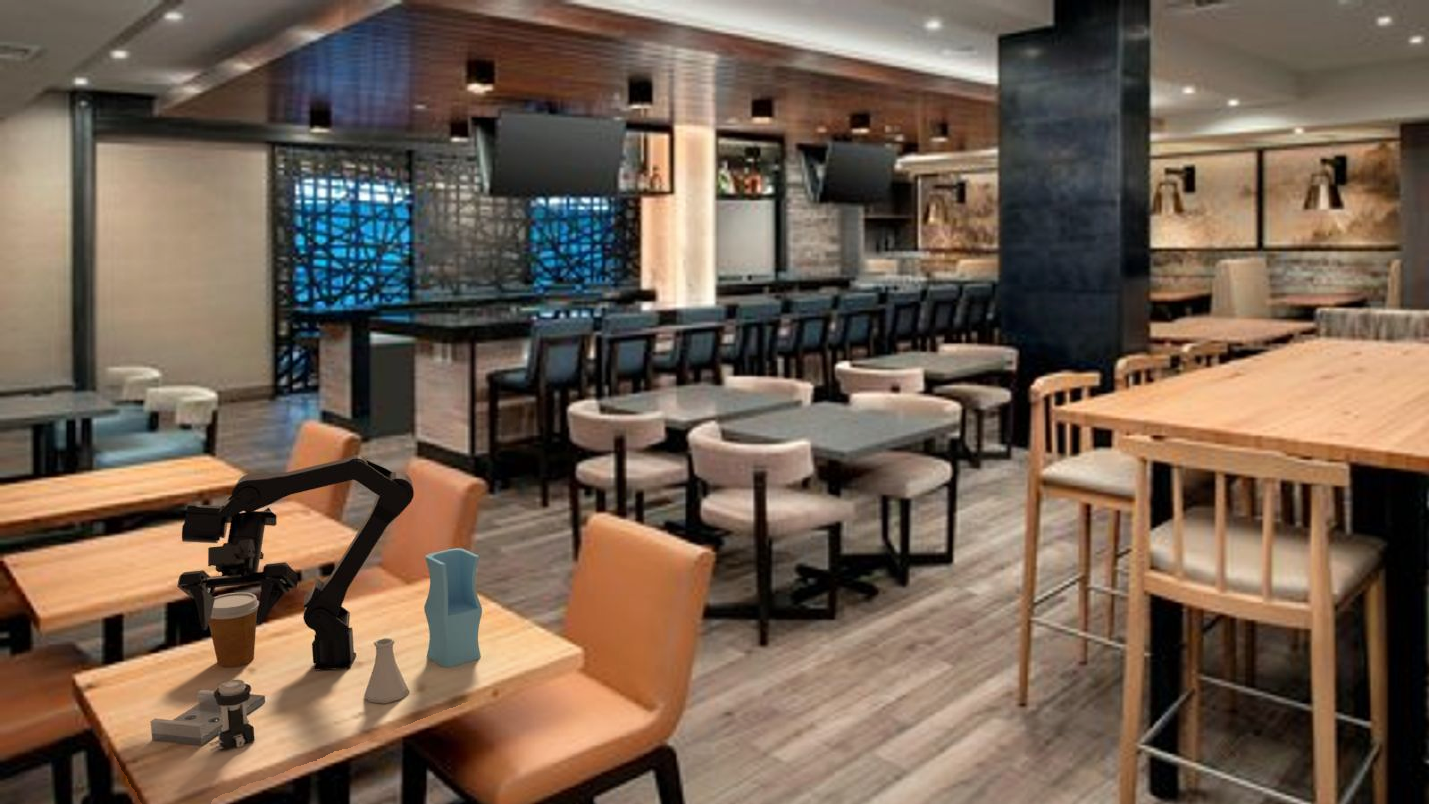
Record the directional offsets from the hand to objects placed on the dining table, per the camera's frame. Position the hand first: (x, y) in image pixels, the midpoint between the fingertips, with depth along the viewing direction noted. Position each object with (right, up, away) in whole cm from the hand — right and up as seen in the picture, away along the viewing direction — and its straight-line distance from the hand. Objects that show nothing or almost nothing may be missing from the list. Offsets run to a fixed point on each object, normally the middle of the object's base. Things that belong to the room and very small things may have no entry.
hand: (231, 626), depth 177 cm
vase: (+33, -11, +21) cm, 41 cm away
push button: (+7, -16, -14) cm, 22 cm away
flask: (+25, -13, +4) cm, 29 cm away
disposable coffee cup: (-8, -11, +19) cm, 24 cm away
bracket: (-1, -14, -5) cm, 15 cm away
